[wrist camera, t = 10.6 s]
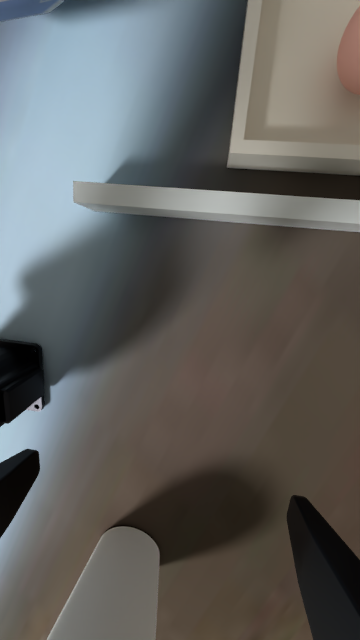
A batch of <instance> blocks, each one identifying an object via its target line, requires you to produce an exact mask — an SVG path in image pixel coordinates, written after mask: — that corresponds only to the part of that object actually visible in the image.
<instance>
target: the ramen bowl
mask: <svg viewBox="0 0 360 640" xmlns="http://www.w3.org/2000/svg"><path fill="white" fill-rule="evenodd" d="M64 1H65V0H0V22H3V21H9V20H14V19H19V18H25V17H30V16H35V15H41V14H46V13H50V12H51V11H52V10H54V9H55V8H56V7H57V6H59V5H60V4H61V3H62V2H64Z"/></svg>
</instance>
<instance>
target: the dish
mask: <svg viewBox="0 0 360 640" xmlns="http://www.w3.org/2000/svg"><path fill="white" fill-rule="evenodd" d="M359 6H360V0H247V7H246V15H245V23H244V31H243V39H242V47H241V55H240V64H239V72H238V80H237V88H236V96H235V104H234V112H233V120H232V129H231V137H230V145H229V153H228V161H227V168H239V169H256V170H273V171H290V172H307V173H324V174H341V175H358V176H360V95H358V94H354V93H352V92H350V91H348V90H347V89H346V88H345V87H344V86H343V85H342V83H341V81H340V79H339V76H338V72H337V54H338V49H339V45H340V41H341V38H342V36H343V33H344V31H345V29H346V27H347V25H348V23H349V21H350V19H351V18H352V16H353V14H354V13H355V11H356V10H357V9H358V7H359Z"/></svg>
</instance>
